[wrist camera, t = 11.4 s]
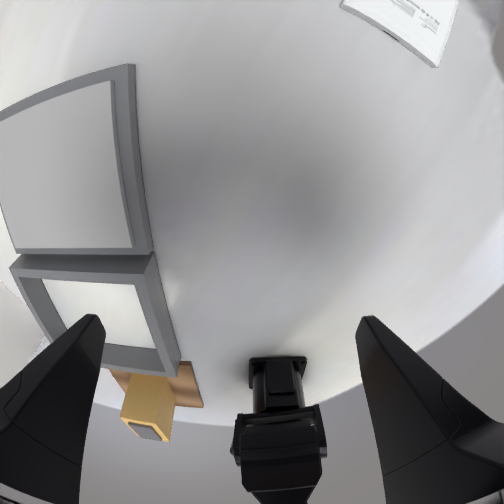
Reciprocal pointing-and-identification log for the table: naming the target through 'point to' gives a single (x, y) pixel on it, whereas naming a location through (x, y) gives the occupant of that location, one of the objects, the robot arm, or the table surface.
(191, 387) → the walnut board
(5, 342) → the milk
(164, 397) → the ochre module
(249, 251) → the table surface
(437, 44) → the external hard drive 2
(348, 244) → the table surface
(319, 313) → the table surface
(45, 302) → the equipment case
